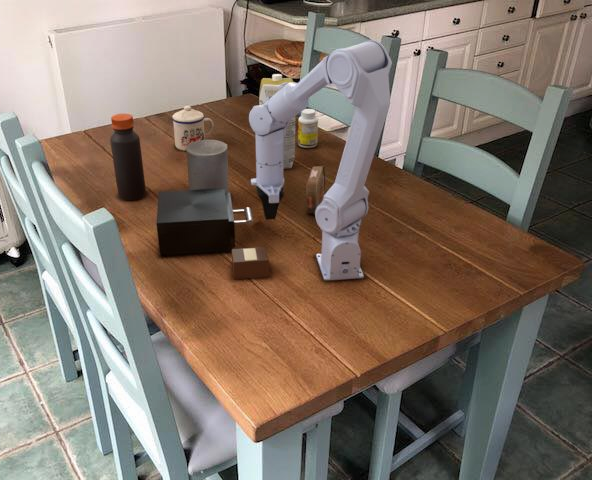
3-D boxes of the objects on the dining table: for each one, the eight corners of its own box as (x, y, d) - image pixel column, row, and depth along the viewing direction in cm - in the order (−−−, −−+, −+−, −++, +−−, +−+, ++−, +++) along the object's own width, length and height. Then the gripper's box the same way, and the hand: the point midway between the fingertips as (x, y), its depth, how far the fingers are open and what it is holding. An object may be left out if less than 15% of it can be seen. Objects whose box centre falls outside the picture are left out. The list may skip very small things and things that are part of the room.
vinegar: (119, 202, 153) (107, 123, 142) (117, 190, 159) (106, 113, 148) (147, 199, 155) (138, 120, 144) (144, 187, 160) (135, 110, 149)
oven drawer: (249, 216, 145) (249, 191, 142) (255, 245, 134) (254, 219, 131) (171, 220, 143) (169, 195, 140) (171, 251, 132) (168, 224, 129)
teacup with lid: (181, 153, 178) (177, 113, 172) (170, 143, 185) (166, 104, 179) (220, 146, 183) (218, 107, 177) (208, 136, 190) (205, 98, 184)
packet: (269, 277, 126) (269, 259, 123) (234, 279, 125) (233, 261, 123) (266, 263, 130) (266, 246, 128) (232, 265, 129) (231, 248, 127)
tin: (317, 220, 145) (318, 187, 141) (303, 219, 146) (304, 185, 141) (325, 192, 158) (327, 160, 153) (313, 190, 158) (314, 159, 154)
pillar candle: (184, 195, 156) (179, 138, 148) (220, 187, 160) (217, 131, 152) (198, 212, 149) (194, 152, 141) (236, 203, 153) (234, 144, 144)
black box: (226, 219, 146) (224, 187, 141) (230, 252, 133) (228, 218, 129) (162, 223, 144) (158, 191, 140) (160, 257, 132) (156, 223, 128)
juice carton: (293, 158, 176) (294, 71, 163) (295, 170, 169) (296, 80, 156) (259, 158, 175) (258, 72, 162) (260, 170, 169) (259, 81, 156)
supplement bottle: (301, 140, 186) (302, 106, 181) (319, 142, 185) (320, 108, 179) (295, 147, 182) (296, 112, 176) (313, 149, 180) (315, 115, 175)
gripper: (247, 147, 137) (248, 204, 144) (254, 175, 124) (255, 235, 132) (279, 146, 137) (279, 202, 145) (289, 173, 125) (288, 233, 132)
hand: (270, 218), depth 138 cm, fingers closed
